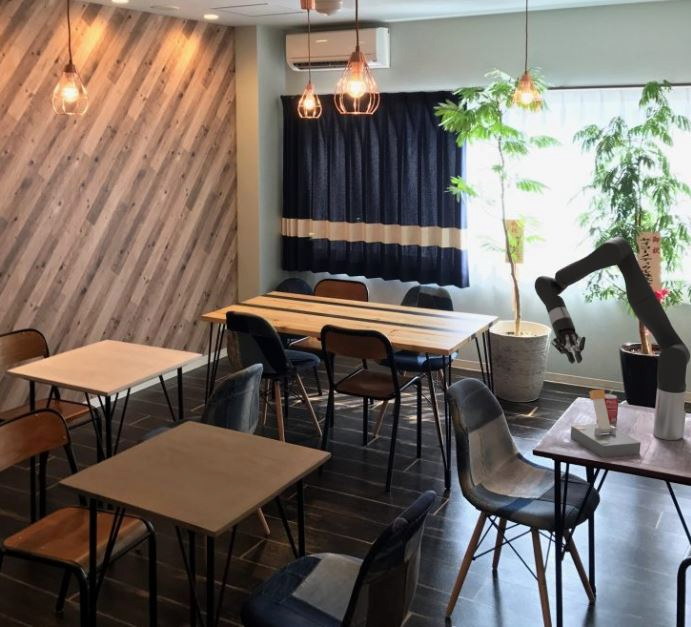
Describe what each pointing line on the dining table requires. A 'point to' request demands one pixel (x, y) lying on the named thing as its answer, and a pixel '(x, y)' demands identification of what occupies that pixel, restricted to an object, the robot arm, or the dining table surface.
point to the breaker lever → (600, 410)
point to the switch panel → (605, 441)
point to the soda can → (611, 408)
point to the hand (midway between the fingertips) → (576, 362)
